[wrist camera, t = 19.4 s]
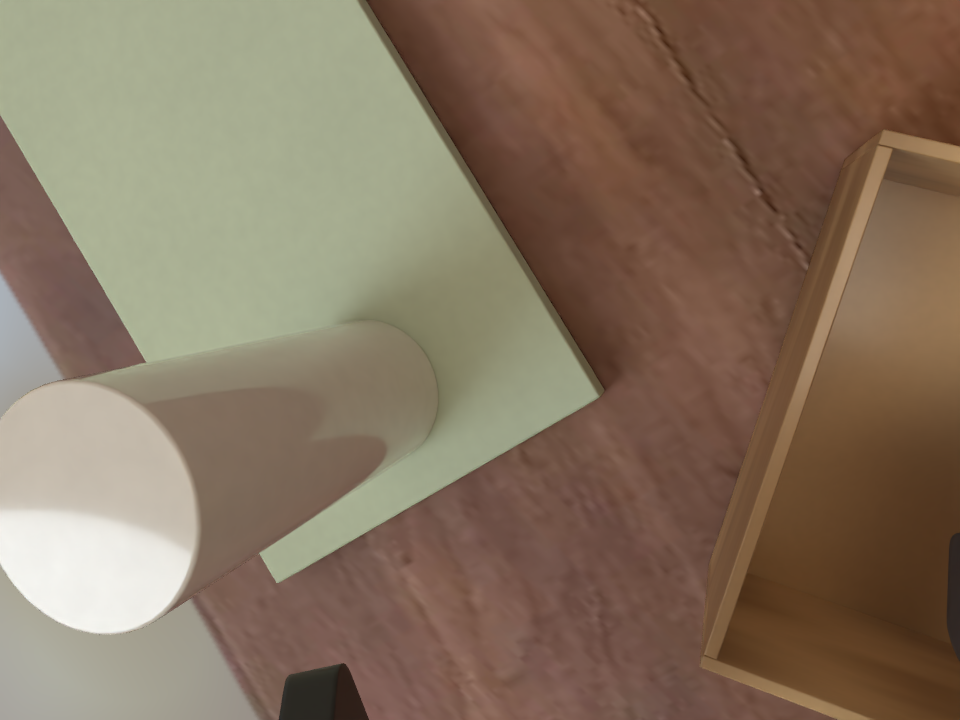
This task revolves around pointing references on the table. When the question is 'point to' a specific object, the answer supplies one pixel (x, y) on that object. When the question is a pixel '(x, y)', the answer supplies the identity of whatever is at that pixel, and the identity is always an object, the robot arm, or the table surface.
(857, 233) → the wooden box
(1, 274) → the table surface
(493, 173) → the table surface
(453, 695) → the table surface
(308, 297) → the pale green flat board
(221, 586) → the table surface
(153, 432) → the canister
